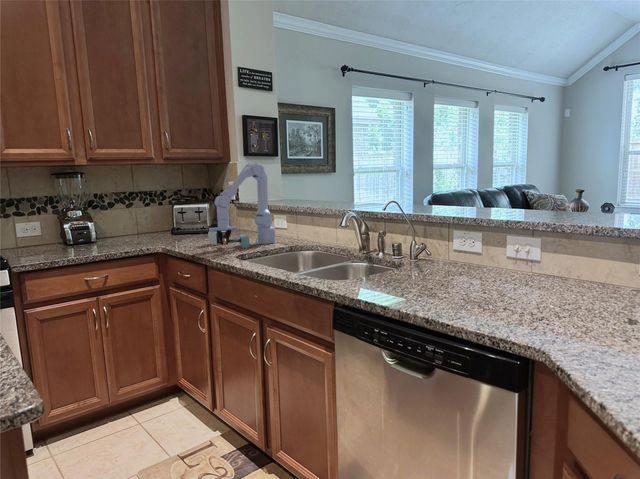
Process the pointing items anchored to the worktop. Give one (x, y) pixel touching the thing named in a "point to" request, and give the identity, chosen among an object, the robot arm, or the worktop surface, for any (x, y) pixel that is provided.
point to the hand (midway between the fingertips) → (224, 244)
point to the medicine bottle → (215, 235)
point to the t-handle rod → (231, 241)
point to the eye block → (244, 241)
